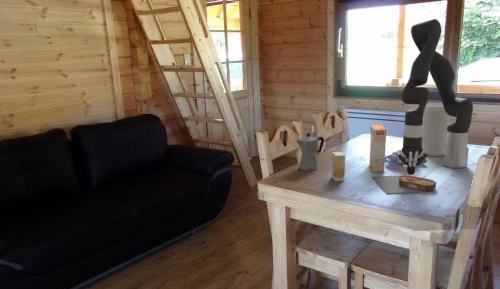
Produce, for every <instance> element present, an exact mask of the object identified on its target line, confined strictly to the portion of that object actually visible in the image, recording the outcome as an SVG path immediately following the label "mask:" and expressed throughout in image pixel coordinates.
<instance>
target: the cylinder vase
mask: <svg viewBox="0 0 500 289" xmlns="http://www.w3.org/2000/svg"><path fill="white" fill-rule="evenodd" d="M449 124H450V116H449V115H448V114H447V113H446V112H445V109H444V107H443V106H426V107H425V110H424V115H423V139H422V149H423V152H425V153H427V154H428V155H427V157H443V156H444V157H445V148H446V135H447V126H448V125H449Z"/></svg>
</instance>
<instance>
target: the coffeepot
mask: <svg viewBox="0 0 500 289" xmlns="http://www.w3.org/2000/svg"><path fill="white" fill-rule="evenodd" d="M318 141H320V144H319V146H318ZM324 142H325V139H324V137H323V136H315V137H313V136H311V133H310V132H307V133H306V136H304V137H301V138H298V139H297V140H296V143H297V144H298V145H299V148H300V150H301V151H300V152H301V156H300V161H299V169H300V170H303V171H315V170H318V163H317V157H316V153H321V152H322V149H323V146H324V144H325V143H324ZM317 146H318V150H317Z"/></svg>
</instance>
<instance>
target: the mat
mask: <svg viewBox="0 0 500 289" xmlns="http://www.w3.org/2000/svg"><path fill="white" fill-rule="evenodd" d="M400 176H408V175H407V174H403V175H400V174H399V175H375V176H373V175H371V178H372V180H373V181H374V182H375V183H376V184H377V185H378V187H380V188H381V190H382V191H383V192H384V193H385V194H386V195H405V194H407V195H408V194H409V195H410V194H427V193H428V191H423V190H418V189H414V188H409V187H405V186H402V185H400V184H399V177H400Z"/></svg>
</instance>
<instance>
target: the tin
mask: <svg viewBox="0 0 500 289" xmlns="http://www.w3.org/2000/svg"><path fill="white" fill-rule="evenodd" d="M399 184H400V185H402V186H405V187H409V188H414V189H418V190H423V191H426V192H430V191H434V190H436V189H437V188H436V187H437V182H436V181H435V180H433V179H429V178H424V177H419V176H414V175H407V176H400V177H399Z"/></svg>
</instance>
